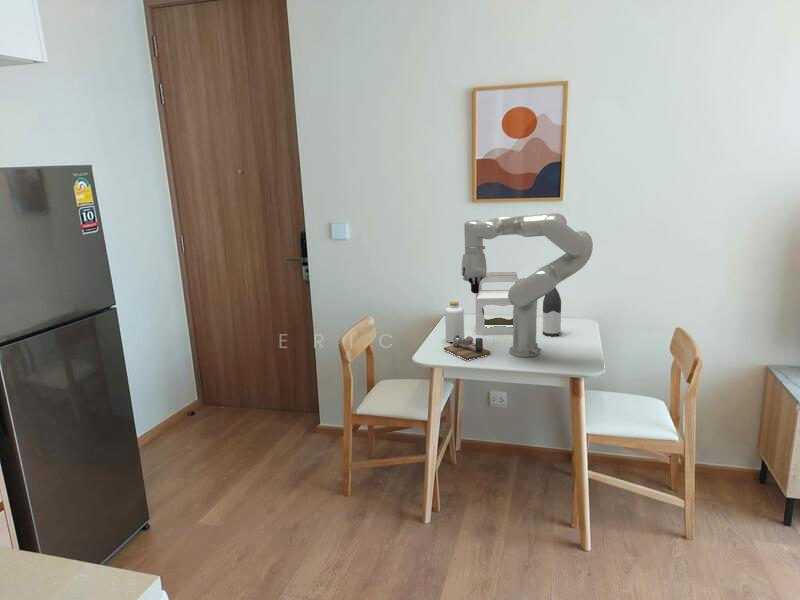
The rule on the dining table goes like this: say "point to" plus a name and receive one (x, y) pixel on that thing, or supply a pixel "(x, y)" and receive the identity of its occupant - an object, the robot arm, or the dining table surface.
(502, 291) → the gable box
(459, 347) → the board
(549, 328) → the wine bottle
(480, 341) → the lever
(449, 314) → the white container
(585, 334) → the dining table surface
